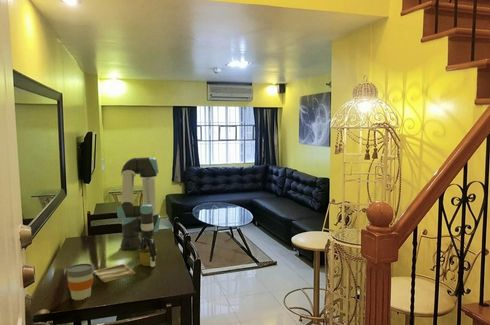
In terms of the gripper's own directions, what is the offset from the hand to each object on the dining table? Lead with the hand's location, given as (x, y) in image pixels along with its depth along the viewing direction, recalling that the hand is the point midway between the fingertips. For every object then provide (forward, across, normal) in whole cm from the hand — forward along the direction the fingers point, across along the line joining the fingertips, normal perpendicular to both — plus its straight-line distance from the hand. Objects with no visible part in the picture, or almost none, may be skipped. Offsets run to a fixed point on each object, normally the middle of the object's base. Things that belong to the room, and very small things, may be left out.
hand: (148, 263), depth 240 cm
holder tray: (+1, +1, -22) cm, 22 cm away
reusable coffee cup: (+1, +20, -46) cm, 50 cm away
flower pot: (+1, 0, 0) cm, 1 cm away
